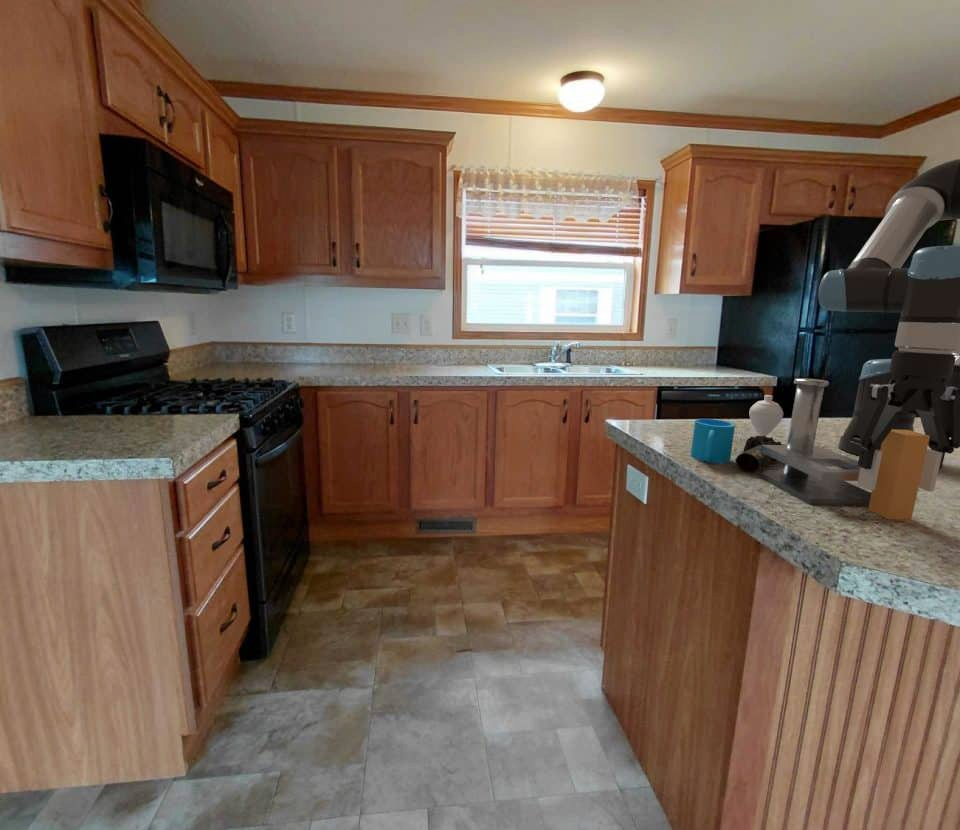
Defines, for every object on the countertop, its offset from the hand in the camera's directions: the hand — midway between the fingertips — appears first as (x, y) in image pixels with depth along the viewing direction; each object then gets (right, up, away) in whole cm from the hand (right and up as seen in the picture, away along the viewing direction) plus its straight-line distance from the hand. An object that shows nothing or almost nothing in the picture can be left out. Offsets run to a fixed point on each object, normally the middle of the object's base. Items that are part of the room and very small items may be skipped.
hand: (894, 488), depth 83 cm
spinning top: (+5, +5, +49) cm, 49 cm away
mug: (-17, +2, +29) cm, 34 cm away
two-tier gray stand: (-5, -2, +12) cm, 13 cm away
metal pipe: (-8, +1, +28) cm, 29 cm away
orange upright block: (0, -4, +1) cm, 5 cm away
